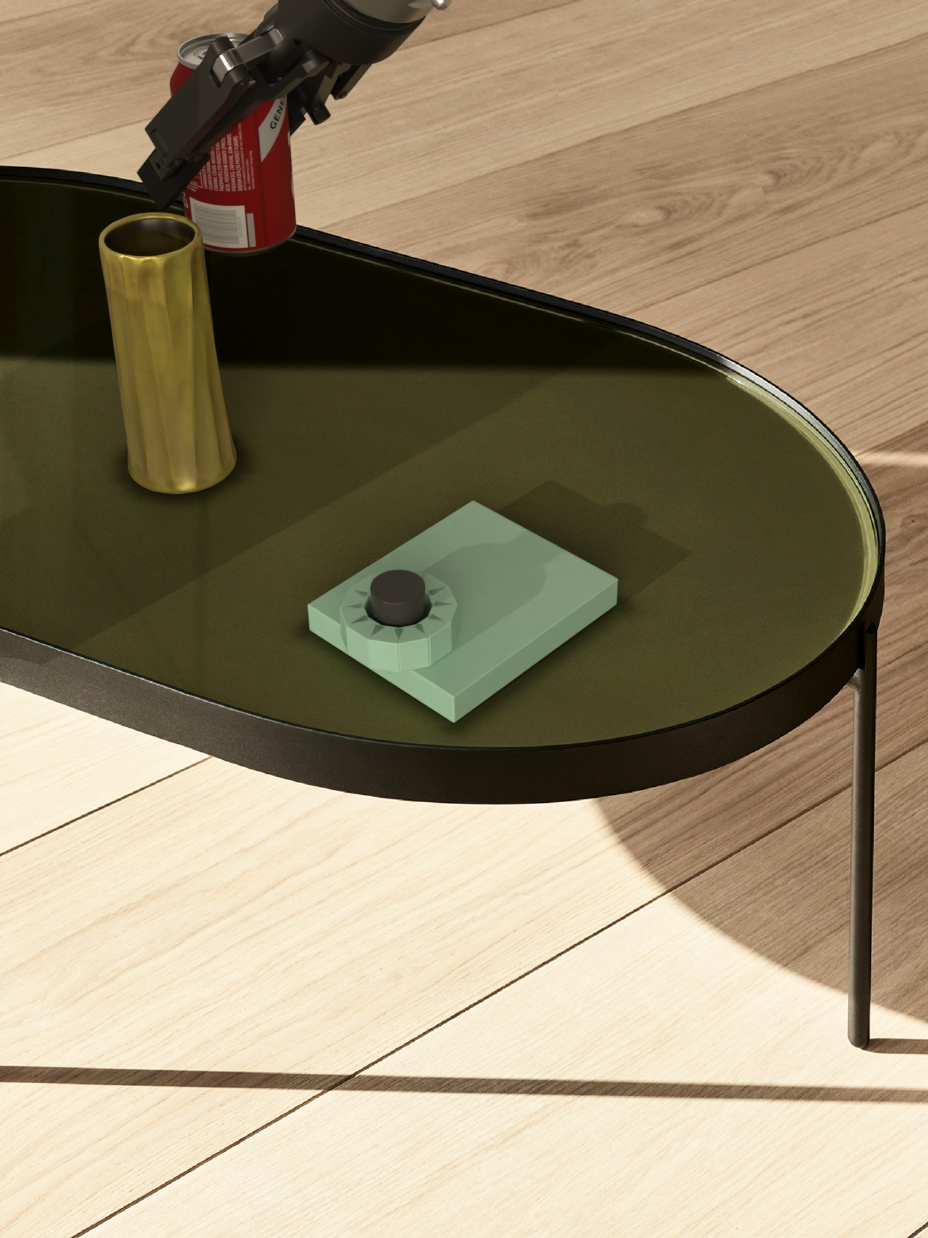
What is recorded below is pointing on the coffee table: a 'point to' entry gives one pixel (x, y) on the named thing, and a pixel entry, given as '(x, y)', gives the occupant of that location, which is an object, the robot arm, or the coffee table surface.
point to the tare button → (398, 598)
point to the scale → (468, 609)
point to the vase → (166, 353)
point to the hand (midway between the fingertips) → (200, 170)
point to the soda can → (241, 173)
